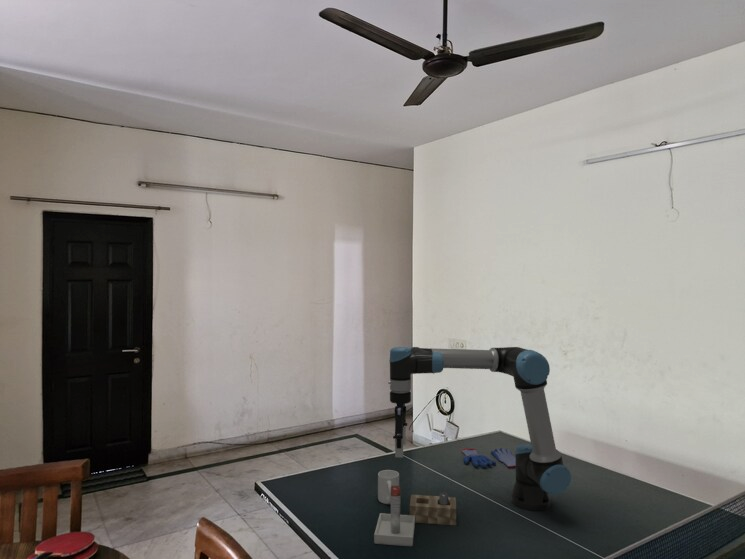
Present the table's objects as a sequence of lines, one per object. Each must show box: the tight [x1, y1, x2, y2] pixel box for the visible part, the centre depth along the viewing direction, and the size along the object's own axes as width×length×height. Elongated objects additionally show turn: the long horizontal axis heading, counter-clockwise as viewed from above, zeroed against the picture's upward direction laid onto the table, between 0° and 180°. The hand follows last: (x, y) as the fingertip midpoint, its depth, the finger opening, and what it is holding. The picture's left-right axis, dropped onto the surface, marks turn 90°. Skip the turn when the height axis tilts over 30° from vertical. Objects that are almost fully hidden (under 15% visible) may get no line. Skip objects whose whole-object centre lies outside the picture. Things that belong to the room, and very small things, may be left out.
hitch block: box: [409, 494, 457, 526], centre depth 187 cm, size 17×10×6 cm, turn 82°
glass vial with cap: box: [390, 485, 401, 534], centre depth 175 cm, size 3×3×16 cm
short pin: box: [438, 492, 449, 505], centre depth 186 cm, size 3×3×9 cm
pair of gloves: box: [461, 447, 516, 470], centre depth 249 cm, size 32×26×4 cm
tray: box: [373, 512, 416, 547], centre depth 174 cm, size 13×16×3 cm
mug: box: [377, 469, 400, 505], centre depth 200 cm, size 9×12×11 cm
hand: (400, 450), depth 176 cm, fingers open, 13 cm apart
